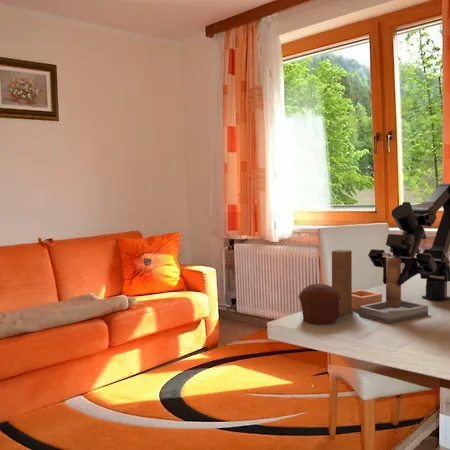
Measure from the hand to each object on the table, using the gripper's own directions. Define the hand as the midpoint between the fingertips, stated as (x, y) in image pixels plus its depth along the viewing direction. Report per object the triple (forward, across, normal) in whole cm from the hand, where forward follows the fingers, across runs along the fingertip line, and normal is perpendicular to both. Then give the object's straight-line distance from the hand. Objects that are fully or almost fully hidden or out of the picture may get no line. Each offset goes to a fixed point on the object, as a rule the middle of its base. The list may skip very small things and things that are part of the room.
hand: (391, 284), depth 144 cm
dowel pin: (+4, 0, +6) cm, 7 cm away
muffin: (+19, -12, -6) cm, 23 cm away
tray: (+5, 0, +7) cm, 9 cm away
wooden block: (+12, -13, +1) cm, 17 cm away
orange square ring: (+4, -12, +9) cm, 15 cm away
